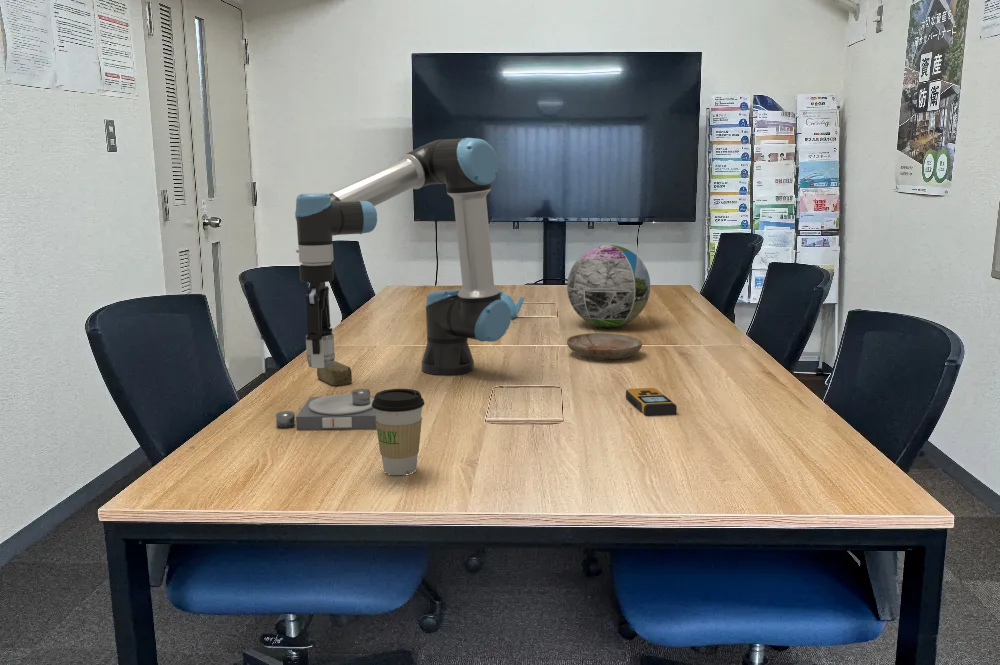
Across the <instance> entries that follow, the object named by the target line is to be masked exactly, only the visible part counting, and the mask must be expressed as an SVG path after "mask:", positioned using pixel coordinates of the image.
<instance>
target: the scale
mask: <svg viewBox="0 0 1000 665" xmlns="http://www.w3.org/2000/svg"><path fill="white" fill-rule="evenodd" d="M374 398H375V395H374V396H373V395H372V396H371V395H370V404H369V405H366V406H354V405H353V403H352V393H339V394H333V395H332V394H331V395H326V396H309V398H308V399H307V401H306V402H305V403H304V405H303V406H302V407H301V409H300V410H299V412H298V414H297V415H296V416H295V428H296V431H302V430H303V431H309V430H310V431H311V430H315V431H316V430H318V431H320V430H374V429H376V430H377V428H376V421H375V420H376V415H375V409H374V408H373V407H372V402H373V400H374Z"/></svg>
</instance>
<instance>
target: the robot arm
mask: <svg viewBox="0 0 1000 665" xmlns="http://www.w3.org/2000/svg"><path fill="white" fill-rule="evenodd" d="M497 156H498V155H497V153H496V151H495V149H494V148H493V146H492V145H490V144H489V142H488V141H486V140H485V139H482V138H476V137H475V138H473V137H464V138H451V139H449V138H448V139H436V140H433V141H431V142H428V143H426V144H424V145H422V146H419V147H418V148H415V149H413V150H411V151H409V152H407V153H404V154H402V155H401V156H400V157H399V160H398V161H397V162H395V163H393V164H390V165H388V166H386V167H384V168H382V169H379V170H377V171H375V172H374V173H371V174H369V175H367V176H365V177H361V178H360V179H358V180H356V181H353V182H352V183H349V184H347V185H345V186H343V187H341V188H339V189H337V190H335V191H333V192H330V193H322V192H321V193H300V194H298V195H297V196H296V200H295V212H294V214H295V215H294V218H295V222H296V228H297V229H296V230H297V231H296V233H297V243H298V246H297V247H298V248H296V249H295V252H296V253H297V254H298V262H299V263H300V265H299V266H298V270H299V281H301V282H302V283H308V284H309V285H308V286H309V287H308V288H309V289H307V291H306V294H305V301H306V317H307V318H306V319H307V320H306V321H307V334H308V337H306V336H305V340H306V339H307V340H310V345H311V365H312V367H311V369H317V368H324V349H323V339H322V330H323V331H324V330H326V331H329V332H332V333H333V328H331V326H332V325H331V315H330V299H329V298H330V297H329V295H330V293H329V291H330V287H329V286H328V285H327V286H326V283H327V282H333V280H334V279H335V271H334V269H335V268H334V265H333V263H332V262H334V247H333V246H334V245H333V244H334V243H333V236H340V235H341V236H342V235H344V236H345V235H363V234H367V233H369V234H370V233H372V231H374V230H375V229H376V226H377V224H378V213H377V209H376V207H375V206H378V205H380V204H382V203H384V202H386V201H388V200H390V199H392V198H394V197H396V196H398V195H400V194H403V193H405V192H407V191H408V190H410V189H413V190H419V189H421V188H423V187H426V186H429V185H445V186H446V193H447V195H448V196H449V197H451V198H452V200H453V206H454V207H453V208H454V216H455V217H454V218H455V227H456V236H457V246H458V254H459V266H460V275H461V283H462V284H461V285H462V287H461V288H454V289H444V290H436V291H432V292H428V293H427V295H426V301H425V302H426V304H425V315H426V318H425V320H426V339H427V340H426V346H425V350H424V352H423V356H422V360H421V371H422V372H424V373H425V374H431V375H436V376H437V375H438V376H439V375H440V376H454V375H456V376H457V375H463V374H467V373H470V372H472V371H474V370H475V361H474V358H473V355H472V351H471V348H470V346H469V341H468V339H471V340H476V341H479V342H489V343H491V342H492V343H493V342H496V341H498V340H500V339H501V338H503V336H505V334H506V332H507V330H509V328H510V325H511V321H512V319H511V309H510V307H509V305H507V303H506V302H505V301H503V300H501V294H500V291H501V289H500V288H499V287H498V286H497V285H495V280H494V270H493V269H494V268H493V259H492V257H493V256H492V248H491V246H492V245H491V237H490V227H489V214H488V204H487V195H488V194H489V193H490V192H491V190H492V184H491V183H493V182H494V181H495V180H496V178H497V176H496V175H497V174H498V172H499V159H498V157H497Z"/></svg>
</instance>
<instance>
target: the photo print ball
mask: <svg viewBox="0 0 1000 665" xmlns="http://www.w3.org/2000/svg"><path fill="white" fill-rule="evenodd" d="M566 285H567V286H566V289H567V290H566V291H567V295H568V300H569V303H570V305H571V307H572V309H573V310H574V311H575V313H576V314H577V315H578V316H579V317H580V318H581V319H582V320H584V321H585V322H586V323H589V324H591V325H593V326H596V327H600V328H608V329H609V328H610V329H611V328H618V327H622V326H623V325H626V324H628V323H630V322H632V321H633V320H634V319H636V318H637V317H638V316H639V315H640V314H641V313H642V311H643V310H644V309H645V307H646V305H647V303H648V300H649V297H650V293H651V279H650V275H649V271H648V269H647V267H646V265H645V264H644V262H643V260H642V259H641V258H640V257H639V256H638V255H636V254H635V252H633V251H632V250H630V249H628V248H625V247H622V246H619V245H614V244H603V245H599V246H596V247H593V248H590V249H588V250H587V251H585V252H584V253H582V254H581V255H580V256H579V257H578V258H577V259H576V261H575V262H574V264H573V265H572V267H571V268H570V271H569V274H568V277H567V283H566Z"/></svg>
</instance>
